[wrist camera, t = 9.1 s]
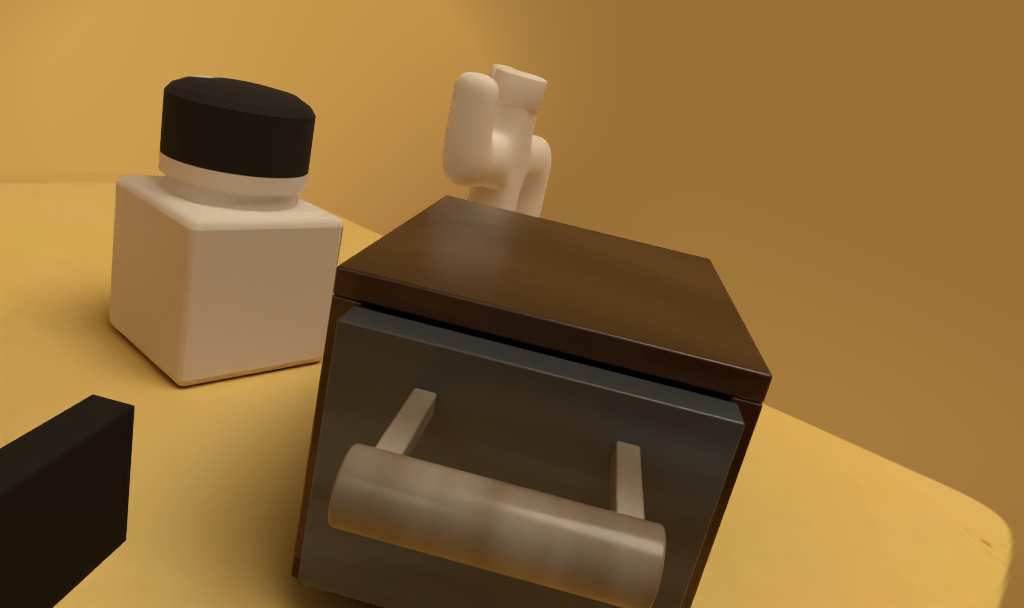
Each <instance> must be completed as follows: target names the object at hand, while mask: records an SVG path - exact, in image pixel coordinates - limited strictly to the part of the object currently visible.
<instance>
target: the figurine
mask: <svg viewBox="0 0 1024 608" xmlns="http://www.w3.org/2000/svg"><path fill="white" fill-rule="evenodd" d="M546 86H547V81H546V80H544V79H543V78H540V77H538V76H535V75H532V74H529V73H525V72H522V71H518V70H514V68H513V67H509V66H504V65H499V64H493V66H492V69H491V74H490V77H489V76H487V75H484V74H481V73H477V72H467V73H463V74H461V75H460V76H459V77H458V79H457V80H456V83H455V86H454V91H453V96H452V102H451V107H450V112H449V118H448V123H447V128H446V134H445V140H444V146H443V168H444V171H445V174H446V176H447V177H448V178H449V180H450V181H452V182H453V183H454V184H456V185H459V186H464V187H470V188H469V193H468V198H467V200H468V201H472V202H476V203H481V204H485V205H489V206H493V207H497V208H501V209H505V210H509V211H514V212H518V213H522V214H526V215H530V216H534V217H538V218H539V216H540V212H541V208H542V203H543V199H544V195H545V190H546V186H547V182H548V178H549V173H550V167H551V150H550V147H549V145H548V143H547V142H546V141H545V140H544V139H543V138H541V137H539V136H536V135H533V130H534V125H535V121H536V117H537V113H538V110H539V108H540V105H541V102H542V99H543V95H544V92H545V89H546Z"/></svg>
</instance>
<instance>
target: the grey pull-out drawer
mask: <svg viewBox="0 0 1024 608" xmlns="http://www.w3.org/2000/svg"><path fill="white" fill-rule="evenodd" d="M698 391H699V387H695V386H691V385H687V384H683V383H680V382H676V381H672V380H668V379H664V378H660V377H656V376H652V375H648V374H644V373H640V372H636V371H632V370H629V369H625V368H621V367H617V366H613V365H609V364H605V363H601V362H597V361H593V360H589V359H585V358H581V357H577V356H574V355H570V354H566V353H562V352H558V351H554V350H550V349H546V348H542V347H538V346H534V345H530V344H526V343H523V342H519V341H515V340H511V339H507V338H503V337H499V336H495V335H491V334H487V333H483V332H479V331H475V330H471V329H468V328H464V327H460V326H456V325H452V324H448V323H444V322H440V321H436V320H432V319H428V318H424V317H420V316H416V315H413V314H409V313H405V312H401V311H397V310H393V312H392V315H388V314H385V313H381V312H377V311H373V310H369V309H365V308H361V307H357V306H353V307H352V308H351V309H349V310H348V311H347V312H346V313H345V314H344V315H342V316H341V317H340V318H339V319H338V320H337V325H336V332H335V338H334V345H333V351H332V358H331V364H330V371H329V377H328V384H327V391H326V397H325V404H324V410H323V417H322V423H321V430H320V436H319V443H318V450H317V456H316V463H315V469H314V476H313V482H312V489H311V495H310V502H309V509H308V515H307V522H306V528H305V535H304V541H303V548H302V554H301V561H300V568H299V574H298V583H299V584H302V585H306V586H309V587H313V588H316V589H320V590H323V591H327V592H330V593H334V594H338V595H341V596H345V597H348V598H352V599H355V600H359V601H362V602H366V603H369V604H373V605H376V606H380V607H384V608H681V605H682V602H683V599H684V597H685V594H686V591H687V588H688V585H689V582H690V580H691V577H692V574H693V571H694V568H695V565H696V563H697V560H698V557H699V554H700V551H701V548H702V546H703V543H704V540H705V537H706V534H707V531H708V529H709V526H710V523H711V520H712V517H713V514H714V512H715V509H716V506H717V503H718V500H719V497H720V494H721V492H722V489H723V486H724V483H725V480H726V477H727V475H728V472H729V469H730V466H731V463H732V460H733V458H734V455H735V452H736V449H737V446H738V443H739V441H740V438H741V435H742V432H743V429H744V426H745V423H744V420H743V418H742V415H741V412H740V410H739V407H738V404H736V403H733V402H729V401H725V400H722V399H718V398H714V397H710V396H706V395H702V394H698Z"/></svg>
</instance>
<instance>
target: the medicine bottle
mask: <svg viewBox="0 0 1024 608" xmlns="http://www.w3.org/2000/svg"><path fill="white" fill-rule="evenodd" d="M314 124H315V114H314V112H313V111H312V109H311V107H310V106H309V105H307V104H306V103H305V102H303V101H302V100H301V99H299V98H298V97H297V96H295V95H293V94H290V93H288V92H284V91H281V90H278V89H274V88H271V87H267V86H263V85H260V84H255V83H251V82H246V81H240V80H234V79H228V78H219V77H209V76H195V75H194V76H187V77H184V78H181V79H177V80H174V81H171V82H170V83H169V84H168V85H167V86H166V87H165V88H164V98H163V112H162V127H161V141H160V156H159V170H161V172H163V173H164V174H166V176H142V175H123V176H121V177H119V178H118V179H117V182H116V200H115V219H114V239H113V259H112V278H111V298H110V318H109V319H110V322H111V324H112V325H113V326H114V327H115V328H116V329H117V330H118V331H119V332H121V333H122V334H123V335H124V336H125V337H126V338H127V339H128V340H129V341H130V342H131V343H133V344H134V345H135V346H136V347H137V348H138V349H139V350H140V351H141V352H142V353H144V354H145V355H146V356H147V357H148V358H149V359H150V360H151V361H152V362H153V363H155V364H156V365H157V366H158V367H159V368H160V369H161V370H162V371H163V372H164V373H166V374H167V375H168V376H169V377H170V378H171V379H172V380H173V381H174V382H175V383H177V384H178V385H180V386H188V385H194V384H199V383H204V382H210V381H215V380H221V379H226V378H231V377H237V376H242V375H248V374H253V373H258V372H264V371H269V370H275V369H280V368H285V367H291V366H296V365H302V364H307V363H312V362H317V361H320V360H321V359H322V357H323V355H324V348H325V341H326V335H327V328H328V321H329V314H330V308H331V301H332V296H333V290H334V284H335V277H336V270H337V264H338V257H339V250H340V244H341V237H342V230H343V222H342V221H341V219H340V218H338V217H336V216H334V215H332V214H330V213H328V212H326V211H324V210H322V209H320V208H318V207H316V206H314V205H312V204H310V203H308V202H306V201H304V200H302V199H300V198H298V194H299V193H302V192H304V191H305V190H306V185H307V178H308V170H309V162H310V154H311V147H312V140H313V132H314Z"/></svg>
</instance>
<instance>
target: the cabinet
mask: <svg viewBox="0 0 1024 608" xmlns="http://www.w3.org/2000/svg"><path fill="white" fill-rule="evenodd" d="M353 306H357V307H361V308H365V309H369V310H373V311H377V312H381V313H385V314H388V315H392V312H393V310H397V311H401V312H405V313H409V314H413V315H416V316H420V317H424V318H428V319H432V320H436V321H440V322H444V323H448V324H452V325H456V326H460V327H464V328H468V329H471V330H475V331H479V332H483V333H487V334H491V335H495V336H499V337H503V338H507V339H511V340H515V341H519V342H523V343H526V344H530V345H534V346H538V347H542V348H546V349H550V350H554V351H558V352H562V353H566V354H570V355H574V356H577V357H581V358H585V359H589V360H593V361H597V362H601V363H605V364H609V365H613V366H617V367H621V368H625V369H629V370H632V371H636V372H640V373H644V374H648V375H652V376H656V377H660V378H664V379H668V380H672V381H676V382H680V383H683V384H687V385H691V386H695V387H699V391H698V394H702V395H706V396H710V397H714V398H718V399H722V400H725V401H729V402H733V403H736V404H738V407H739V410H740V412H741V415H742V418H743V420H744V423H745V426H744V429H743V432H742V435H741V438H740V441H739V443H738V446H737V449H736V452H735V455H734V458H733V460H732V463H731V466H730V469H729V472H728V475H727V477H726V480H725V483H724V486H723V489H722V492H721V494H720V497H719V500H718V503H717V506H716V509H715V512H714V514H713V517H712V520H711V523H710V526H709V529H708V531H707V534H706V537H705V540H704V543H703V546H702V548H701V551H700V554H699V557H698V560H697V563H696V565H695V568H694V571H693V574H692V577H691V580H690V582H689V585H688V588H687V591H686V594H685V597H684V599H683V602H682V605H681V608H691V605H692V602H693V599H694V596H695V594H696V591H697V588H698V585H699V582H700V580H701V577H702V574H703V571H704V568H705V566H706V563H707V560H708V557H709V554H710V552H711V549H712V546H713V543H714V540H715V538H716V535H717V532H718V529H719V526H720V524H721V521H722V518H723V515H724V512H725V510H726V507H727V504H728V501H729V498H730V496H731V493H732V490H733V487H734V485H735V482H736V479H737V476H738V473H739V471H740V468H741V465H742V462H743V459H744V457H745V454H746V451H747V448H748V445H749V443H750V440H751V437H752V434H753V431H754V429H755V426H756V423H757V420H758V417H759V415H760V412H761V409H762V402H763V401H764V399H765V396H766V393H767V391H768V388H769V385H770V382H771V379H772V375H771V373H770V371H769V369H768V367H767V366H766V363H765V362H764V360H763V358H762V356H761V354H760V352H759V350H758V348H757V347H756V345H755V343H754V341H753V339H752V337H751V335H750V334H749V332H748V330H747V328H746V326H745V324H744V322H743V321H742V319H741V317H740V315H739V313H738V311H737V309H736V307H735V306H734V304H733V302H732V300H731V298H730V297H729V295H728V293H727V291H726V289H725V287H724V285H723V283H722V281H721V280H720V278H719V276H718V274H717V272H716V270H715V269H714V267H713V265H712V263H711V261H710V260H709V259H707V258H703V257H699V256H694V255H690V254H686V253H682V252H678V251H674V250H670V249H666V248H661V247H657V246H653V245H649V244H645V243H641V242H637V241H633V240H628V239H625V238H620V237H616V236H612V235H608V234H604V233H600V232H596V231H591V230H587V229H583V228H579V227H575V226H571V225H567V224H563V223H559V222H555V221H551V220H546V219H542V218H538V217H534V216H530V215H526V214H522V213H518V212H514V211H509V210H505V209H501V208H497V207H493V206H489V205H485V204H481V203H476V202H472V201H468V200H464V199H460V198H455V197H452V196H445V197H444V198H442V199H440V200H439V201H437V202H436V203H434V204H433V205H431V206H430V207H428V208H427V209H425V210H423V211H422V212H420V213H419V214H417V215H416V216H414V217H413V218H411V219H410V220H408V221H407V222H405V223H404V224H402V225H401V226H399V227H397V228H396V229H394V230H393V231H391V232H390V233H389V234H387V235H385V236H384V237H382V238H380V239H379V240H377V241H376V242H374V243H373V244H371V245H370V246H368V247H367V248H365V249H364V250H362V251H360V252H359V253H357V254H356V255H354V256H353V257H351V258H350V259H348V260H347V261H345V262H344V263H342V264H340V265H339V266H338V267H337V271H336V277H335V284H334V295H333V296H332V301H331V308H330V314H329V321H328V328H327V335H326V341H325V348H324V355H323V362H322V368H321V375H320V382H319V388H318V395H317V402H316V409H315V415H314V422H313V429H312V436H311V442H310V449H309V456H308V462H307V469H306V476H305V483H304V489H303V496H302V503H301V510H300V516H299V523H298V530H297V536H296V543H295V550H294V559H293V566H292V572H291V575H292V576H293V577H296V578H298V574H299V568H300V561H301V554H302V548H303V541H304V535H305V528H306V522H307V515H308V509H309V502H310V495H311V489H312V482H313V476H314V469H315V463H316V456H317V450H318V443H319V436H320V430H321V423H322V417H323V410H324V404H325V397H326V391H327V384H328V377H329V371H330V364H331V358H332V351H333V345H334V338H335V332H336V325H337V320H338V319H339V318H340V317H341V316H342V315H344V314H345V313H346V312H347V311H348V310H349V309H351V308H352V307H353Z"/></svg>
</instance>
